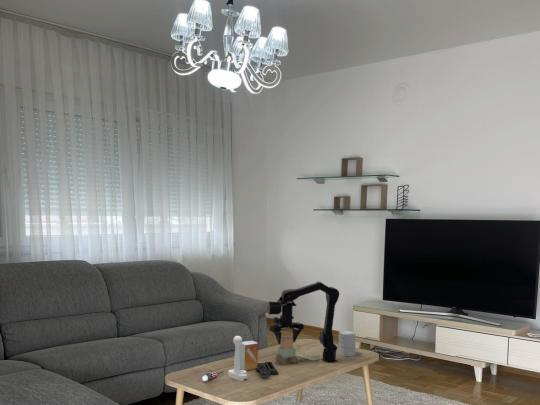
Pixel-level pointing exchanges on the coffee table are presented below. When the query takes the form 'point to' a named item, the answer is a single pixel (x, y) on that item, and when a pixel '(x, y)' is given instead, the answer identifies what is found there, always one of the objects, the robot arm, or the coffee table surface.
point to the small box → (248, 355)
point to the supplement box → (346, 343)
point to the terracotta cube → (286, 343)
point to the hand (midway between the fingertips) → (286, 343)
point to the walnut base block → (286, 360)
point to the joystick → (237, 362)
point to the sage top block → (286, 352)
